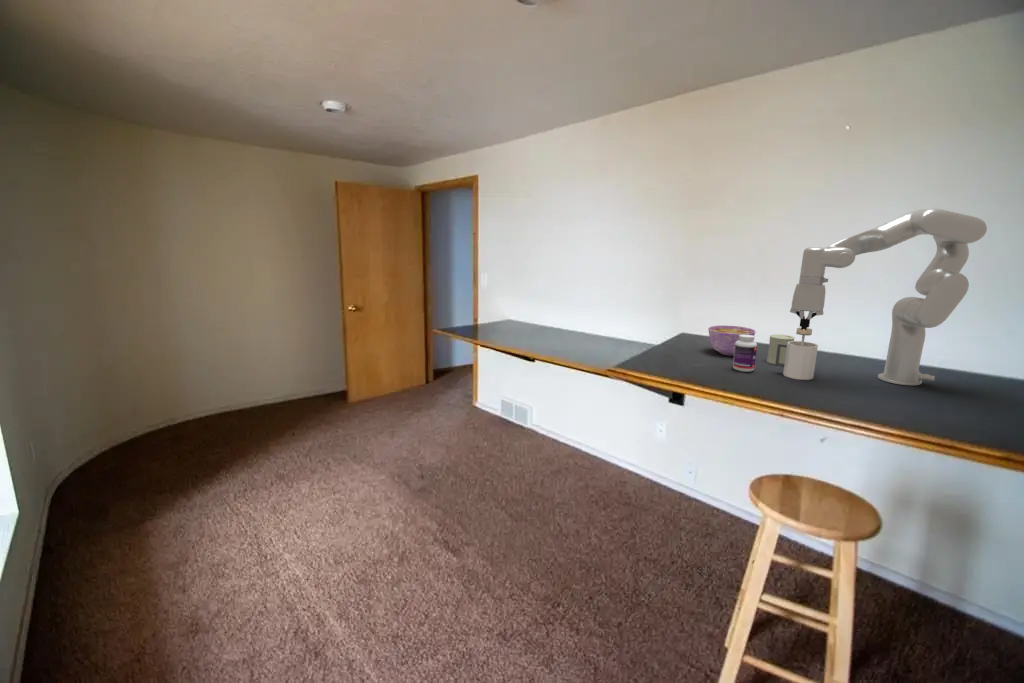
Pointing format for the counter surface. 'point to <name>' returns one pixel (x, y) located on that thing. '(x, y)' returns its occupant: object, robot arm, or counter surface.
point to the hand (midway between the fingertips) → (803, 328)
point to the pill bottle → (745, 353)
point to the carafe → (798, 359)
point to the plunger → (803, 333)
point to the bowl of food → (727, 337)
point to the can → (774, 344)
